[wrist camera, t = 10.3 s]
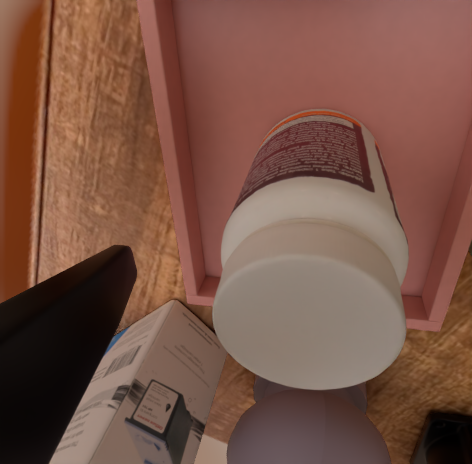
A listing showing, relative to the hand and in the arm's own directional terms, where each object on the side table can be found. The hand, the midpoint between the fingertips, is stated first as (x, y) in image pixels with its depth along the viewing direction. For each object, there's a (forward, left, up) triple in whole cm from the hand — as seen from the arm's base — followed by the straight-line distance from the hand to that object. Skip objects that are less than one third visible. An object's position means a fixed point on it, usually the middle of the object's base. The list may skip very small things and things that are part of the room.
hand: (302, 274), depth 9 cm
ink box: (-13, +9, -7) cm, 17 cm away
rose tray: (0, 0, -7) cm, 7 cm away
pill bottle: (0, 0, -7) cm, 7 cm away
